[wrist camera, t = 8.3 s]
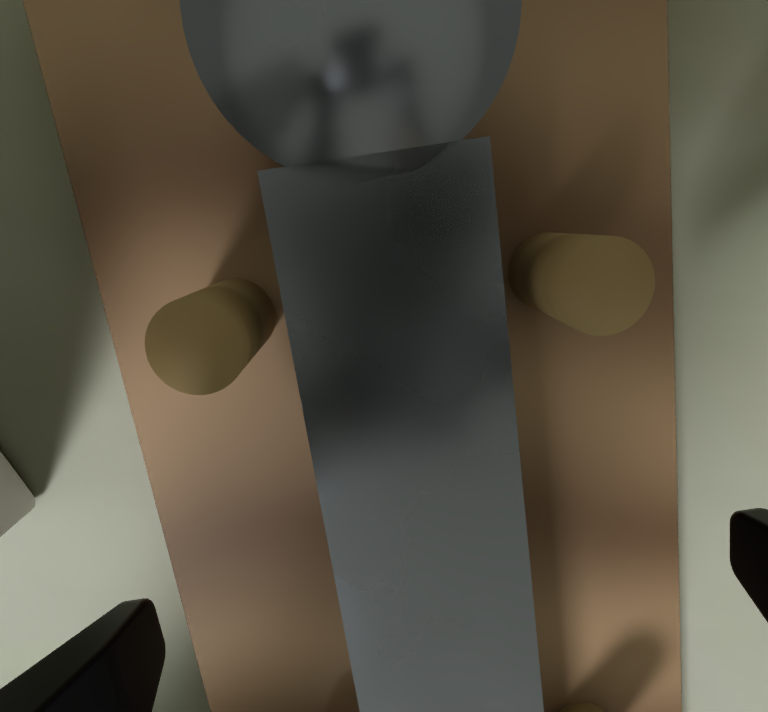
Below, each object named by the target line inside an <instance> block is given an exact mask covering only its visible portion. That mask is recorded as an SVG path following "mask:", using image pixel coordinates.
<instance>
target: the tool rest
mask: <svg viewBox="0 0 768 712" xmlns="http://www.w3.org/2000/svg"><path fill="white" fill-rule="evenodd" d="M23 3H24V7H25V11H26V15H27V18H28V22H29V26H30V30H31V34H32V37H33V41H34V45H35V49H36V53H37V56H38V60H39V64H40V68H41V71H42V75H43V79H44V83H45V87H46V90H47V94H48V98H49V102H50V105H51V109H52V113H53V117H54V121H55V124H56V128H57V132H58V136H59V140H60V143H61V147H62V151H63V155H64V158H65V162H66V166H67V170H68V174H69V177H70V181H71V185H72V189H73V192H74V196H75V200H76V204H77V208H78V211H79V215H80V219H81V223H82V227H83V230H84V234H85V238H86V242H87V245H88V249H89V253H90V257H91V261H92V264H93V268H94V272H95V276H96V279H97V283H98V287H99V291H100V295H101V298H102V302H103V306H104V310H105V314H106V317H107V321H108V325H109V329H110V332H111V336H112V340H113V344H114V348H115V351H116V355H117V359H118V363H119V367H120V370H121V374H122V378H123V382H124V385H125V389H126V393H127V397H128V401H129V404H130V408H131V412H132V416H133V419H134V423H135V427H136V431H137V435H138V438H139V442H140V446H141V450H142V454H143V457H144V461H145V465H146V469H147V472H148V476H149V480H150V484H151V488H152V491H153V495H154V499H155V503H156V506H157V510H158V514H159V518H160V522H161V525H162V529H163V533H164V537H165V541H166V544H167V548H168V552H169V556H170V559H171V563H172V567H173V571H174V575H175V578H176V582H177V586H178V590H179V593H180V597H181V601H182V605H183V609H184V612H185V616H186V620H187V624H188V628H189V631H190V635H191V639H192V643H193V646H194V650H195V654H196V658H197V662H198V665H199V669H200V673H201V677H202V680H203V684H204V688H205V692H206V696H207V699H208V703H209V707H210V711H211V712H360V711H359V705H358V700H357V695H356V689H355V684H354V679H353V674H352V668H351V663H350V658H349V652H348V647H347V642H346V637H345V631H344V626H343V621H342V616H341V610H340V605H339V600H338V594H337V589H336V584H335V579H334V573H333V568H332V563H331V558H330V552H329V547H328V542H327V536H326V531H325V526H324V521H323V515H322V510H321V505H320V500H319V494H318V489H317V484H316V478H315V473H314V468H313V463H312V457H311V452H310V447H309V442H308V436H307V431H306V426H305V420H304V415H303V410H302V405H301V399H300V394H299V389H298V384H297V378H296V373H295V368H294V362H293V357H292V352H291V347H290V341H289V336H288V331H287V325H286V320H285V315H284V310H283V304H282V299H281V294H280V289H279V283H278V278H277V273H276V267H275V262H274V257H273V252H272V246H271V241H270V236H269V231H268V225H267V220H266V215H265V209H264V204H263V199H262V194H261V188H260V183H259V178H258V173H257V171H259V170H266V169H273V168H279V167H282V166H281V165H279V164H278V163H277V162H275V161H274V160H272V159H271V158H269V157H268V156H266V155H265V154H263V153H262V152H260V151H259V150H257V149H256V148H255V147H254V146H253V145H252V144H250V143H249V142H248V141H247V140H246V139H245V138H243V137H242V136H241V135H240V134H239V133H238V132H237V131H236V130H235V129H234V128H233V126H232V125H231V124H230V123H229V122H228V121H227V120H226V119H225V118H224V116H223V115H222V113H221V112H220V111H219V109H218V108H217V106H216V105H215V104H214V102H213V101H212V99H211V98H210V96H209V94H208V92H207V91H206V89H205V87H204V85H203V83H202V81H201V79H200V78H199V76H198V73H197V70H196V68H195V65H194V63H193V60H192V58H191V55H190V53H189V49H188V45H187V41H186V38H185V34H184V30H183V24H182V17H181V10H180V0H23ZM487 136H490V144H491V155H492V165H493V176H494V186H495V197H496V208H497V218H498V229H499V240H500V250H501V261H502V271H503V282H504V293H505V303H506V314H507V325H508V335H509V346H510V356H511V367H512V378H513V388H514V399H515V410H516V420H517V431H518V442H519V452H520V463H521V473H522V484H523V495H524V505H525V516H526V527H527V537H528V548H529V558H530V569H531V580H532V590H533V601H534V612H535V622H536V633H537V643H538V654H539V665H540V675H541V686H542V697H543V707H544V712H682V708H681V658H680V609H679V560H678V510H677V461H676V412H675V363H674V313H673V264H672V215H671V165H670V116H669V67H668V18H667V0H522V8H521V18H520V29H519V33H518V38H517V42H516V47H515V52H514V55H513V58H512V61H511V63H510V66H509V69H508V72H507V75H506V77H505V79H504V81H503V83H502V85H501V87H500V90H499V92H498V94H497V96H496V97H495V99H494V100H493V102H492V104H491V105H490V107H489V108H488V110H487V111H486V113H485V114H484V116H483V117H482V118H481V119H480V121H479V122H478V123H477V124H476V125H475V127H474V128H473V129H472V130H471V131H470V132H469V133H468V134H467V135H466V136H465V137H464V138H463V139H462V140H467V139H473V138H480V137H487Z"/></svg>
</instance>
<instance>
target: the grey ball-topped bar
mask: <svg viewBox="0 0 768 712" xmlns="http://www.w3.org/2000/svg"><path fill="white" fill-rule="evenodd" d="M521 8H522V0H180V10H181V17H182V24H183V30H184V34H185V38H186V41H187V45H188V49H189V53H190V55H191V58H192V60H193V63H194V65H195V68H196V70H197V73H198V76H199V78H200V79H201V81H202V83H203V85H204V87H205V89H206V91H207V92H208V94H209V96H210V98H211V99H212V101H213V102H214V104H215V105H216V106H217V108H218V109H219V111H220V112H221V113H222V115H223V116H224V118H225V119H226V120H227V121H228V122H229V123H230V124H231V125H232V126H233V128H234V129H235V130H236V131H237V132H238V133H239V134H240V135H241V136H242V137H243V138H245V139H246V140H247V141H248V142H249V143H250V144H252V145H253V146H254V147H255V148H256V149H257V150H259V151H260V152H262V153H263V154H265V155H266V156H268V157H269V158H271V159H272V160H274V161H275V162H277V163H278V164H279V165H281V166H282V167H279V168H273V169H266V170H259V171H257V173H258V178H259V183H260V188H261V194H262V199H263V204H264V209H265V215H266V220H267V225H268V231H269V236H270V241H271V246H272V252H273V257H274V262H275V267H276V273H277V278H278V283H279V289H280V294H281V299H282V304H283V310H284V315H285V320H286V325H287V331H288V336H289V341H290V347H291V352H292V357H293V362H294V368H295V373H296V378H297V384H298V389H299V394H300V399H301V405H302V410H303V415H304V420H305V426H306V431H307V436H308V442H309V447H310V452H311V457H312V463H313V468H314V473H315V478H316V484H317V489H318V494H319V500H320V505H321V510H322V515H323V521H324V526H325V531H326V536H327V542H328V547H329V552H330V558H331V563H332V568H333V573H334V579H335V584H336V589H337V594H338V600H339V605H340V610H341V616H342V621H343V626H344V631H345V637H346V642H347V647H348V652H349V658H350V663H351V668H352V674H353V679H354V684H355V689H356V695H357V700H358V705H359V711H360V712H544V707H543V697H542V686H541V675H540V665H539V654H538V643H537V633H536V622H535V612H534V601H533V590H532V580H531V569H530V558H529V548H528V537H527V527H526V516H525V505H524V495H523V484H522V473H521V463H520V452H519V442H518V431H517V420H516V410H515V399H514V388H513V378H512V367H511V356H510V346H509V335H508V325H507V314H506V303H505V293H504V282H503V271H502V261H501V250H500V240H499V229H498V218H497V208H496V197H495V186H494V176H493V165H492V155H491V144H490V136H487V137H480V138H473V139H467V140H462V139H463V138H464V137H465V136H466V135H467V134H468V133H469V132H470V131H471V130H472V129H473V128H474V127H475V125H476V124H477V123H478V122H479V121H480V119H481V118H482V117H483V116H484V114H485V113H486V111H487V110H488V108H489V107H490V105H491V104H492V102H493V100H494V99H495V97H496V96H497V94H498V92H499V90H500V87H501V85H502V83H503V81H504V79H505V77H506V75H507V72H508V69H509V66H510V63H511V61H512V58H513V55H514V52H515V47H516V42H517V38H518V33H519V29H520V18H521Z"/></svg>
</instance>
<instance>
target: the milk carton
mask: <svg viewBox="0 0 768 712" xmlns="http://www.w3.org/2000/svg"><path fill="white" fill-rule="evenodd" d="M35 502H36V500H35V498H34V496H33V495H32V493H31V492H30V490H29V489H28V488H27V486H26V485H25V483H24V482H23V481H22V479H21V478H20V477H19V475H18V474H17V473H16V471H15V470H14V469H13V467H12V466H11V465H10V464H9V462H8V461H7V460H6V458H5V457H4V456H3V454H2V453H1V452H0V537H1V536H2V535H3V534H4V533H5V532H6V531H8V530H9V529H10V528H11V527H12V526H13V525H15V524H16V523H17V522H18V521H19V520H20V519H21V518H23V517H24V516H25V515H26V514H27V513H28V512H30V511H31V509H32V508H33V507H34V506H35Z"/></svg>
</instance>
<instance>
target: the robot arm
mask: <svg viewBox="0 0 768 712" xmlns="http://www.w3.org/2000/svg"><path fill="white" fill-rule="evenodd" d="M730 562H731V566H732V569H733V572H734V574H735V575H736V577H737V579H738V580H739V582H740V583H741V584H742V586H743V587H744V589H745V590H746V592H747V593H748V595H749V596H750V598H751V599H752V600H753V602H754V603H755V605H756V606H757V608H758V609H759V611H760V612H761V613H762V615H763V616H764V618H765V619H766V621H767V622H768V510H767V509H763V508H755V509H748V510H741V511H736V512H735V513H734V514H732V516H731V519H730ZM164 660H165V642H164V638H163V634H162V631H161V627H160V624H159V620H158V616H157V613H156V609H155V606H154V604H153V602H152V601H151V600H149V599H147V598H145V599H138V600H131V601H125V602H122V603H120V604H119V605H117V606H116V607H114V608H113V609H112V610H110V611H109V612H107V613H106V614H105V615H103V616H102V617H100V618H99V619H98V620H96V621H95V622H93V623H92V624H91V625H89V626H88V627H86V628H85V629H84V630H82V631H81V632H79V633H78V634H77V635H75V636H74V637H73V638H71V639H70V640H68V641H67V642H66V643H64V644H63V645H61V646H60V647H59V648H57V649H56V650H54V651H53V652H52V653H50V654H49V655H47V656H46V657H45V658H43V659H42V660H40V661H39V662H38V663H36V664H35V665H33V666H32V667H31V668H29V669H28V670H26V671H25V672H24V673H22V674H21V675H19V676H18V677H17V678H15V679H14V680H12V681H11V682H10V683H8V684H7V685H5V686H4V687H3V688H1V689H0V712H152V709H153V705H154V701H155V697H156V693H157V689H158V685H159V681H160V677H161V673H162V669H163V665H164Z"/></svg>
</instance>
